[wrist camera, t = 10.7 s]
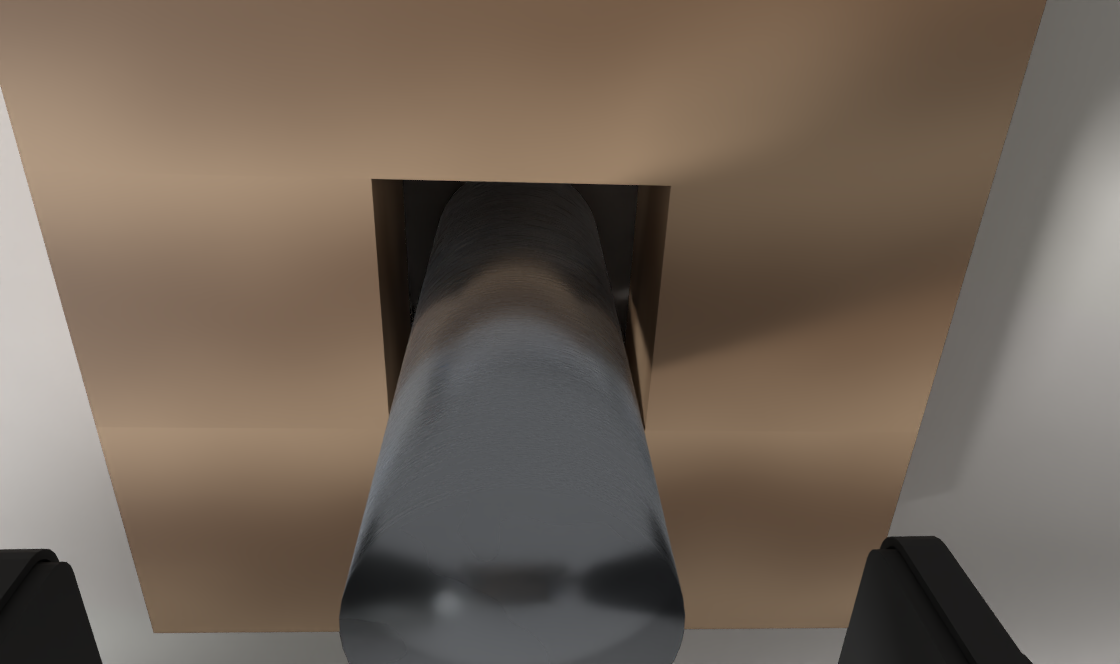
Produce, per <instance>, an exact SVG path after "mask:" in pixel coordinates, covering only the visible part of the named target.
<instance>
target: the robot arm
mask: <svg viewBox="0 0 1120 664" xmlns="http://www.w3.org/2000/svg"><path fill="white" fill-rule="evenodd" d="M0 664H102V661H101V658H100V655H99V651H98V648H97V645H96V642H95V639H94V635H93V632H92V629H91V626H90V623H89V620H88V616H87V613H86V610H85V607H84V604H83V601H82V597H81V594H80V591H79V588H78V585H77V581H76V578H75V575H74V572H73V569H72V567H71V565H70V564H68V563H67V562H59V560H58V558H57V556H56V554H55V553H54V552H53V551H51V550H50V549H4V550H0ZM838 664H1032V662H1031V661H1030V660H1029V659H1028V658H1027V657H1026V656H1025V655H1024V654H1022V653H1021V651H1020V650H1019V649H1018V647H1017V646H1016V644H1015V643H1014V642H1013V640H1012V639H1011V637H1010V636H1009V634H1008V633H1007V632H1006V630H1005V629H1004V627H1003V626H1002V625H1001V623H1000V622H999V620H998V619H997V617H996V616H995V615H994V613H993V612H992V610H991V609H990V607H989V606H988V605H987V603H986V602H985V600H984V599H983V598H982V596H981V595H980V593H979V592H978V590H977V589H976V588H975V586H974V585H973V583H972V582H971V580H970V579H969V578H968V576H967V575H966V573H965V572H964V571H963V569H962V568H961V566H960V565H959V563H958V562H957V561H956V559H955V558H954V556H953V555H952V554H951V552H950V551H949V549H948V548H947V546H946V545H945V544H944V543H943V542H942V541H941V540H940V539H939V538H937V537H935V536H908V537H887V538H886V539H885V540H884V541H883V542H882V544H881V547H880V549H873V550H871V551H870V552H869V554H868V557H867V560H866V563H865V567H864V571H863V574H862V578H861V582H860V585H859V589H858V593H857V596H856V600H855V603H854V607H853V611H852V614H851V618H850V622H849V625H848V629H847V633H846V636H845V640H844V644H843V647H842V651H841V654H840V658H839V662H838Z"/></svg>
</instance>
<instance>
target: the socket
mask: <svg viewBox="0 0 1120 664" xmlns="http://www.w3.org/2000/svg"><path fill="white" fill-rule="evenodd" d="M1046 1H1047V0H0V86H1V89H2V93H3V96H4V100H5V104H6V107H7V111H8V114H9V118H10V121H11V125H12V129H13V132H14V136H15V139H16V143H17V146H18V150H19V154H20V157H21V161H22V164H23V168H24V171H25V175H26V179H27V182H28V186H29V189H30V193H31V196H32V200H33V204H34V207H35V211H36V214H37V218H38V221H39V225H40V229H41V232H42V236H43V239H44V243H45V246H46V250H47V254H48V257H49V261H50V264H51V268H52V271H53V275H54V278H55V282H56V286H57V289H58V293H59V296H60V300H61V303H62V307H63V311H64V314H65V318H66V321H67V325H68V328H69V332H70V336H71V339H72V343H73V346H74V350H75V353H76V357H77V361H78V364H79V368H80V371H81V375H82V378H83V382H84V386H85V389H86V393H87V396H88V400H89V403H90V407H91V411H92V414H93V418H94V421H95V425H96V428H97V432H98V436H99V439H100V443H101V446H102V450H103V453H104V457H105V460H106V464H107V468H108V471H109V475H110V478H111V482H112V485H113V489H114V493H115V496H116V500H117V503H118V507H119V510H120V514H121V518H122V521H123V525H124V528H125V532H126V535H127V539H128V543H129V546H130V550H131V553H132V557H133V560H134V564H135V568H136V571H137V575H138V578H139V582H140V585H141V589H142V593H143V596H144V600H145V603H146V607H147V610H148V614H149V618H150V621H151V625H152V628H153V632H154V633H217V632H340V629H339V614H340V607H341V601H342V597H343V593H344V589H345V585H346V581H347V577H348V573H349V570H350V566H351V562H352V558H353V554H354V550H355V546H356V542H357V538H358V535H359V531H360V527H361V523H362V519H363V515H364V511H365V507H366V503H367V500H368V496H369V492H370V488H371V484H372V480H373V476H374V472H375V468H376V465H377V461H378V457H379V453H380V449H381V445H382V441H383V437H384V433H385V430H386V426H387V422H388V418H389V414H390V410H391V406H392V402H393V398H394V395H395V391H396V387H397V383H398V379H399V375H400V371H401V367H402V363H403V360H404V356H405V352H406V348H407V344H408V340H409V336H410V332H411V318H410V300H409V282H408V264H407V246H406V228H405V210H404V192H403V180H445V181H488V182H531V183H574V184H618V185H638V196H637V207H636V219H635V231H634V242H633V254H632V266H631V277H630V289H629V301H628V312H627V324H626V336H625V343H624V346H625V351H626V355H627V359H628V363H629V368H630V372H631V376H632V381H633V385H634V389H635V394H636V398H637V402H638V406H639V411H640V415H641V419H642V424H643V428H644V432H645V436H646V441H647V445H648V449H649V454H650V458H651V462H652V466H653V471H654V475H655V479H656V484H657V488H658V492H659V496H660V501H661V505H662V509H663V514H664V518H665V522H666V527H667V531H668V535H669V539H670V544H671V548H672V552H673V557H674V561H675V565H676V569H677V574H678V578H679V582H680V587H681V591H682V595H683V600H684V609H685V626H684V629H760V628H848V625H849V622H850V618H851V614H852V611H853V607H854V603H855V600H856V596H857V593H858V589H859V585H860V582H861V578H862V574H863V571H864V567H865V563H866V560H867V557H868V554H869V552H870V551H871V550H873V549H880V547H881V544H882V542H883V541H884V540H885V539H886V538H887V535H888V532H889V529H890V525H891V522H892V519H893V515H894V512H895V509H896V505H897V502H898V498H899V495H900V492H901V488H902V485H903V482H904V478H905V475H906V472H907V468H908V465H909V461H910V458H911V455H912V451H913V448H914V445H915V441H916V438H917V435H918V431H919V428H920V424H921V421H922V418H923V414H924V411H925V408H926V404H927V401H928V398H929V394H930V391H931V387H932V384H933V381H934V377H935V374H936V371H937V367H938V364H939V361H940V357H941V354H942V350H943V347H944V344H945V340H946V337H947V334H948V330H949V327H950V324H951V320H952V317H953V314H954V310H955V307H956V303H957V300H958V297H959V293H960V290H961V287H962V283H963V280H964V277H965V273H966V270H967V266H968V263H969V260H970V256H971V253H972V250H973V246H974V243H975V240H976V236H977V233H978V229H979V226H980V223H981V219H982V216H983V213H984V209H985V206H986V203H987V199H988V196H989V192H990V189H991V186H992V182H993V179H994V176H995V172H996V169H997V166H998V162H999V159H1000V155H1001V152H1002V149H1003V145H1004V142H1005V139H1006V135H1007V132H1008V129H1009V125H1010V122H1011V119H1012V115H1013V112H1014V108H1015V105H1016V102H1017V98H1018V95H1019V92H1020V88H1021V85H1022V82H1023V78H1024V75H1025V71H1026V68H1027V65H1028V61H1029V58H1030V55H1031V51H1032V48H1033V45H1034V41H1035V38H1036V34H1037V31H1038V28H1039V24H1040V21H1041V18H1042V14H1043V11H1044V8H1045V4H1046Z"/></svg>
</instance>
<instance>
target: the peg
mask: <svg viewBox="0 0 1120 664" xmlns="http://www.w3.org/2000/svg"><path fill="white" fill-rule="evenodd" d="M684 626H685V609H684V600H683V595H682V591H681V587H680V582H679V578H678V574H677V569H676V565H675V561H674V557H673V552H672V548H671V544H670V539H669V535H668V531H667V527H666V522H665V518H664V514H663V509H662V505H661V501H660V496H659V492H658V488H657V484H656V479H655V475H654V471H653V466H652V462H651V458H650V454H649V449H648V445H647V441H646V436H645V432H644V428H643V424H642V419H641V415H640V411H639V406H638V402H637V398H636V394H635V389H634V385H633V381H632V376H631V372H630V368H629V363H628V359H627V355H626V351H625V346H624V342H623V338H622V333H621V329H620V325H619V321H618V316H617V312H616V308H615V303H614V299H613V295H612V291H611V286H610V282H609V278H608V273H607V269H606V265H605V260H604V256H603V252H602V248H601V243H600V239H599V235H598V230H597V226H596V223H595V220H594V217H593V214H592V212H591V210H590V208H589V206H588V205H587V203H586V201H585V200H584V199H583V197H582V196H581V195H580V194H579V193H578V191H577V190H575V189H574V188H573V187H572V186H571V185H570V184H569V183H531V182H488V181H468V182H466V183H465V184H464V185H463V186H462V187H460V188H459V189H458V190H457V191H456V193H455V194H454V195H453V196H452V197H451V199H450V200H449V201H448V203H447V204H446V206H445V208H444V210H443V212H442V214H441V217H440V220H439V224H438V227H437V231H436V235H435V239H434V243H433V247H432V251H431V255H430V258H429V262H428V266H427V270H426V274H425V278H424V282H423V286H422V290H421V293H420V297H419V301H418V305H417V309H416V313H415V317H414V321H413V325H412V328H411V332H410V336H409V340H408V344H407V348H406V352H405V356H404V360H403V363H402V367H401V371H400V375H399V379H398V383H397V387H396V391H395V395H394V398H393V402H392V406H391V410H390V414H389V418H388V422H387V426H386V430H385V433H384V437H383V441H382V445H381V449H380V453H379V457H378V461H377V465H376V468H375V472H374V476H373V480H372V484H371V488H370V492H369V496H368V500H367V503H366V507H365V511H364V515H363V519H362V523H361V527H360V531H359V535H358V538H357V542H356V546H355V550H354V554H353V558H352V562H351V566H350V570H349V573H348V577H347V581H346V585H345V589H344V593H343V597H342V601H341V607H340V614H339V629H340V637H341V641H342V646H343V650H344V652H345V654H346V657H347V659H348V662H349V664H672V663H673V662H674V660H675V657H676V655H677V653H678V650H679V648H680V645H681V641H682V637H683V633H684Z"/></svg>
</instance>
